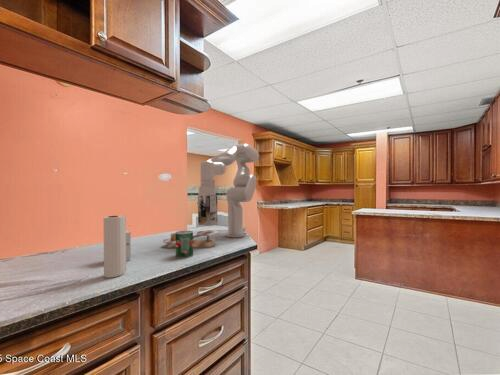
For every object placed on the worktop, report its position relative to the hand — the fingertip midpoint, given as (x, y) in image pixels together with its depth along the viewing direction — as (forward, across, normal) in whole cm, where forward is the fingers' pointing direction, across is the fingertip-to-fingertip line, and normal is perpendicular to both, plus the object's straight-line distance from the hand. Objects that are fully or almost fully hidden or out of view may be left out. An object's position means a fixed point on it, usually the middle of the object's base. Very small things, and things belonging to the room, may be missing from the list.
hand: (207, 215), depth 135 cm
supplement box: (+16, +41, -15) cm, 47 cm away
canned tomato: (+16, +22, +4) cm, 28 cm away
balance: (+16, +5, -8) cm, 18 cm away
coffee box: (+5, 0, 0) cm, 5 cm away
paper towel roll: (+16, +52, +1) cm, 55 cm away
